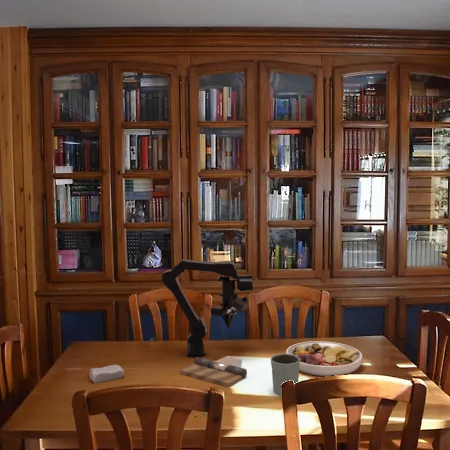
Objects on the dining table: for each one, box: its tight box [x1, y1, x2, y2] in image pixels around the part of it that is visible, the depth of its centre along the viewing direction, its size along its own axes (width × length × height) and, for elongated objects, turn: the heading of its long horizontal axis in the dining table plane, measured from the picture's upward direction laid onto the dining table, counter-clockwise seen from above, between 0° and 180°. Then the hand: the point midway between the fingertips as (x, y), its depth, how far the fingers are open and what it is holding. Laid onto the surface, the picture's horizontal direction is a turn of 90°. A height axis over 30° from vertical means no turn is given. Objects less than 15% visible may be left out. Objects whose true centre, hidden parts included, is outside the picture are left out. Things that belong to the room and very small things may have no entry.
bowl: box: [285, 340, 363, 377], centre depth 204 cm, size 30×30×8 cm
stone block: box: [89, 364, 125, 384], centre depth 194 cm, size 12×5×10 cm
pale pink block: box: [210, 355, 243, 372], centre depth 201 cm, size 7×11×4 cm, turn 142°
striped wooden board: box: [179, 357, 248, 388], centre depth 194 cm, size 23×12×4 cm, turn 55°
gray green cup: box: [270, 353, 300, 396], centre depth 178 cm, size 10×10×12 cm
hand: (228, 327), depth 216 cm, fingers closed
